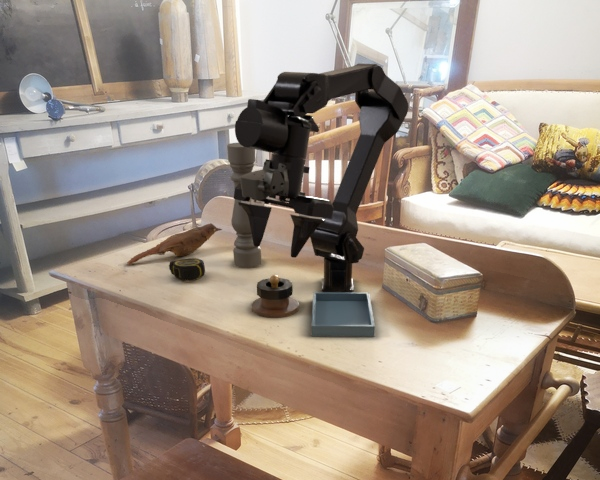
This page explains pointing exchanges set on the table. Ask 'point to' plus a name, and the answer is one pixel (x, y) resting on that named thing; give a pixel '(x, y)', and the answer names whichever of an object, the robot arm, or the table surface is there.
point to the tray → (342, 314)
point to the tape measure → (187, 269)
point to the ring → (274, 289)
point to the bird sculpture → (181, 242)
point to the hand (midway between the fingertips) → (274, 251)
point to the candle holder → (244, 247)
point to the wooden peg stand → (275, 304)
